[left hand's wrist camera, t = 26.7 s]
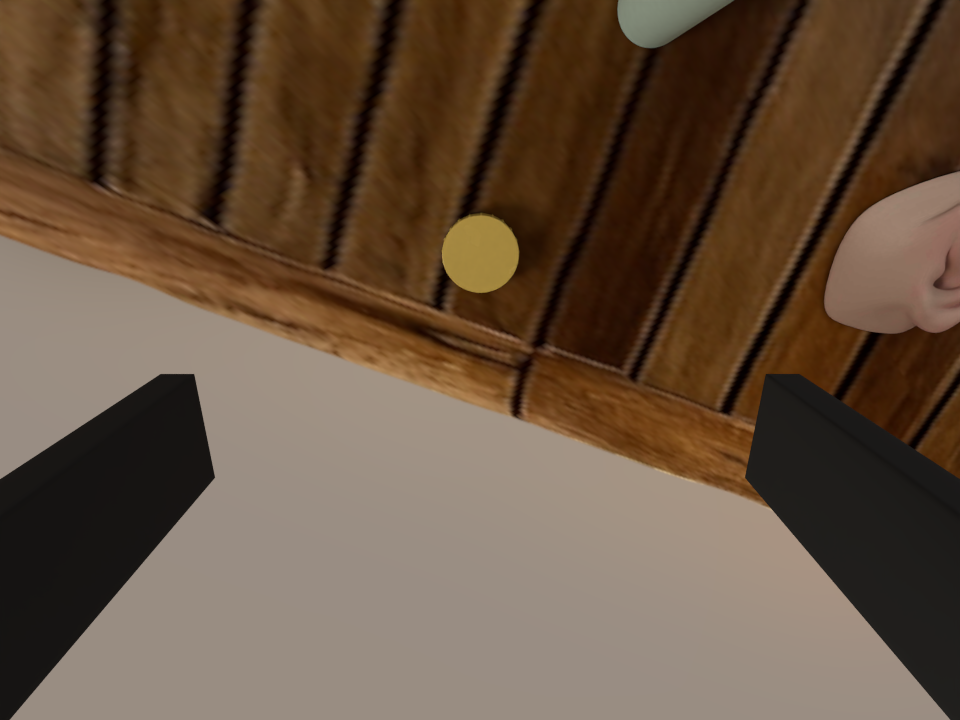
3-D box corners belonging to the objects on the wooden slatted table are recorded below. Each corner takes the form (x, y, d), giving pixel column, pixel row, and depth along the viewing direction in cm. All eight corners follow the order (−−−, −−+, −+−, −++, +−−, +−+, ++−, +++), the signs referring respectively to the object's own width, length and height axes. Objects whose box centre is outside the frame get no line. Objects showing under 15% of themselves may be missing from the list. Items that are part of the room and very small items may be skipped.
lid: (517, 209, 39) (518, 211, 37) (519, 286, 41) (521, 291, 39) (439, 214, 39) (438, 216, 37) (446, 290, 41) (444, 295, 39)
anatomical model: (855, 363, 38) (863, 200, 34) (821, 345, 42) (826, 197, 38) (1048, 329, 37) (1079, 158, 33) (996, 314, 41) (1019, 159, 37)
